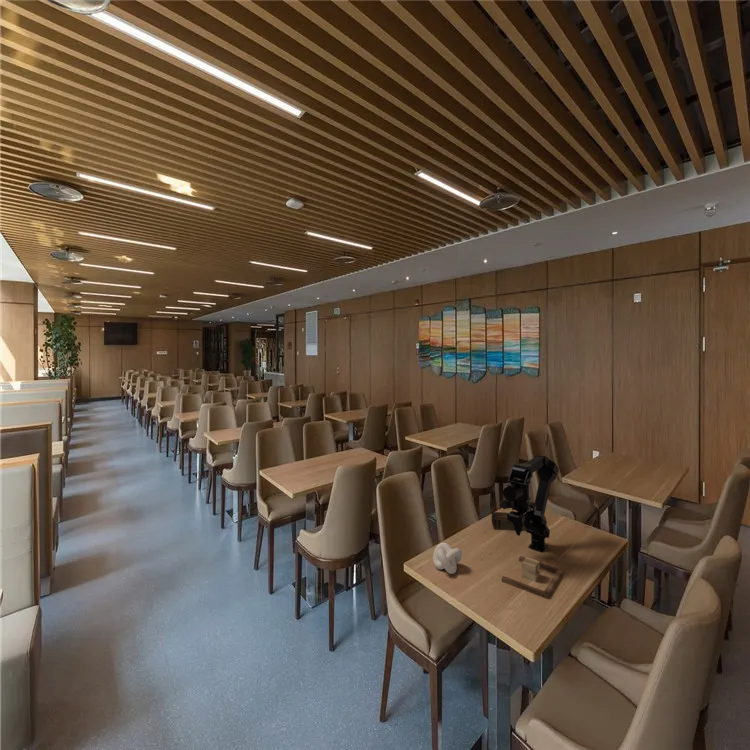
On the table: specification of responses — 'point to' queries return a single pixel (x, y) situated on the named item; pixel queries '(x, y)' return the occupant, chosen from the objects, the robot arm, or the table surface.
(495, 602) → the table surface
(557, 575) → the bay
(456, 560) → the white decorative knot
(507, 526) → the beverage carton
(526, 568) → the oak block
